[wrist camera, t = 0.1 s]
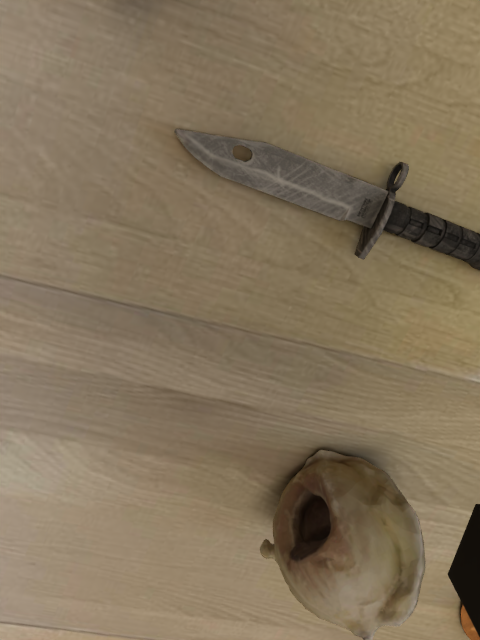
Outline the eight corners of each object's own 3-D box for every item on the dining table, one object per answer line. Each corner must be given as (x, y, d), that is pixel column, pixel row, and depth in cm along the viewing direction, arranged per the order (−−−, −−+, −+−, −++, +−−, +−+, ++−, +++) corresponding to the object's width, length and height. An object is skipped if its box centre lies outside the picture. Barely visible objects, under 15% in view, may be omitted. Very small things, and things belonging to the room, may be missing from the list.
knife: (157, 187, 20) (188, 72, 18) (162, 182, 22) (191, 77, 20) (490, 307, 23) (546, 219, 22) (471, 294, 25) (521, 212, 23)
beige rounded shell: (369, 432, 32) (486, 523, 23) (353, 530, 34) (455, 649, 25) (251, 448, 28) (334, 561, 20) (241, 556, 30) (312, 704, 22)
